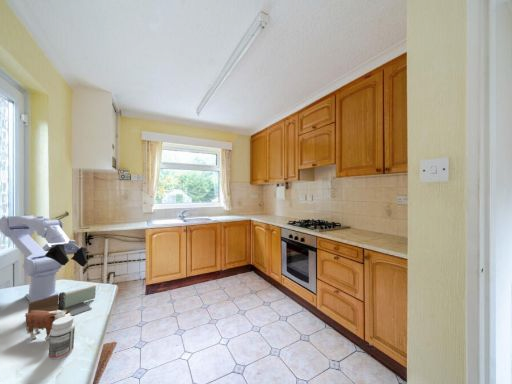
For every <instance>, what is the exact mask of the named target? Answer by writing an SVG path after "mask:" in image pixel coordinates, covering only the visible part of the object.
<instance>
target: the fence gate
mask: <svg viewBox="0 0 512 384" xmlns="http://www.w3.org/2000/svg"><path fill="white" fill-rule="evenodd" d="M96 288H97V285H96V284H91V285H88V286H84V287H81V288H77V289H73V290H70V291H67V292H65V291H64V292H65V293H64V308H66V307H69V306H72V305H75V304H78V303H82V302H84V303H86V302H87V301H90V300H94V299H96Z"/></svg>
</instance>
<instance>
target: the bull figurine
mask: <svg viewBox="0 0 512 384" xmlns="http://www.w3.org/2000/svg"><path fill="white" fill-rule="evenodd" d="M70 311H71V310H68V311H66V312H64V311H61V310H57V311H39V310H37V311H35V310H32V311H30V312H29V314H28V315H25V324H26V325H25V331H26V333H27V334H28V335H30V336H29V339H30V341H35V340H36V339H37V337H36V335H35V334H37V335H39V334H40V333H41V330H42V331H43V330H44V329H45V330H46V331H45V332H46V333H45V334H46V337H45V338H44V340H45V342H49V339H50V331H51V330H52V323H53V322H54V321H55V320H57V319H59V318H61V317H65V314H68V313H69V312H70ZM34 329H35V330H34ZM34 332H35V334H34Z"/></svg>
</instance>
